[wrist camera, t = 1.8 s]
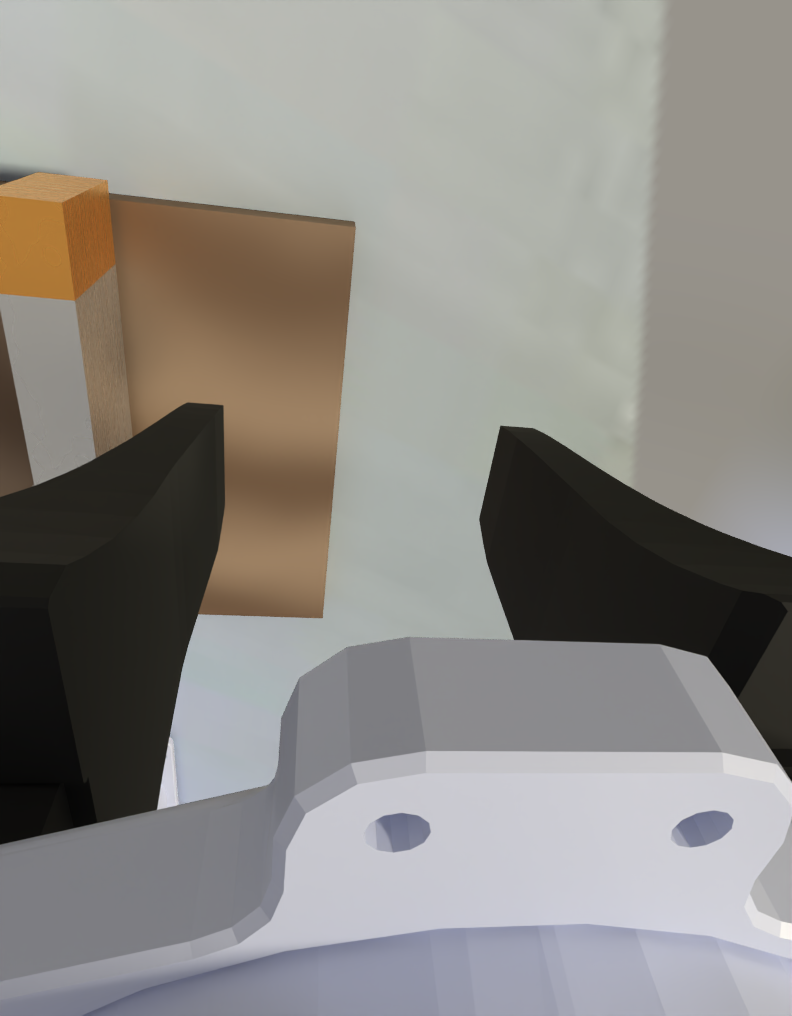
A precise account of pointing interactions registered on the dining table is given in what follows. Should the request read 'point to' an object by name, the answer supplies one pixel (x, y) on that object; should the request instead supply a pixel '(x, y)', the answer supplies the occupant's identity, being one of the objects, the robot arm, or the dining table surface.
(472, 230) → the dining table surface
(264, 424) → the brown flat board
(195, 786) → the dining table surface
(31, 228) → the orange and grey bar
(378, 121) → the dining table surface
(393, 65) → the dining table surface
